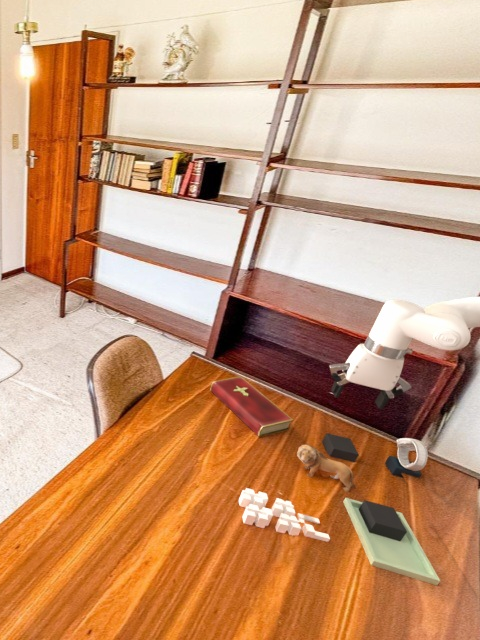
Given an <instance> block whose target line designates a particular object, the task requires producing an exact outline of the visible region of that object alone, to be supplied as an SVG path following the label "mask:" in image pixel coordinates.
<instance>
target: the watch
mask: <svg viewBox="0 0 480 640" xmlns="http://www.w3.org/2000/svg"><path fill="white" fill-rule="evenodd" d="M396 443H397V444H396V448H397V456H393V455H388V458H387V459H386V461H385V462H384V465H385V467H386V469H387V470H388V471H389V472H390V475H392V476H395V477H398V478H402V479H405V477H404V475H408V476H410V477H411V476H412V477H414V478H418V479H421V477H422V476H423V474H422V473H421V470H423V469H424V468H425V466H426V465H427V463H428V459H429V457H428V455H429V453H428V448H427V447H426V445H425V443H424V442H422V441H421V440H419V439H416V438H411V437H402V438H398V439H396ZM410 451H411V452H413V451H415V452H416V458H415V460H414V461H411V460H410V459H409V454H410ZM402 474H404V475H402Z"/></svg>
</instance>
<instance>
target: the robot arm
mask: <svg viewBox="0 0 480 640" xmlns="http://www.w3.org/2000/svg"><path fill="white" fill-rule="evenodd" d="M472 328H480V296H471V297H463V298H456V299H451V300H444V301H438V302H435V303H432V304H430V305H427V306H426V307H424V308H423V307H422V306H420V305H418V304H415V303H414V302H412V301H407V300H403V299H395V298H394V299H389V300H387V301H386V302H384V304H383V306H382V307H381V309H380V312H379V313H378V316H377V317H376V319H375V320H374V323H373V325H372V326H371V329H370V332H369V333H368V335H367V337H366V339H365V341H364V343H359V344H358V345H357V346H356V347H355V348H354V349H353V350H352V352H351V353H350V355H349V356H348V358H347V359H346V361H345V362H344V363H334V364H329V365H328V368H329V373H330V375H331V378H332V379H333V380H334V382H333V384H332V386H331V389H330V390H331V393H332V394H333V396H334V398H337V399H338V398H340V396H341V395H342V392H343V390H344V389H345V387H344V385H346V384H348V383H353V384H355V385H356V384H357V385H359V386H365V387H369V388H372V389H377V390H380V391H379V393H378V395H377V396H376V398H375V400H374V403H375V405H376V406H377V409H378V410H383V409H384V407H386V406H388V404H389V402H390V400H391V399H394V398H395V397H397V396H400V395H403V394H404V393H405V392H407V391H409V390H411V389H412V385H411V384H410V383H409V382H408V381H406V380H405V379H404V378H402V377H401V374H402V371H403V368H404V364H405V363H404V362H405V355H407V354H408V355H412V354H413V348H409V347H410V344H411V343H412V341H413V340H416V341H418V342H421V343H423V344H425V345H428V346H429V347H433V348H435V349H438V350H442V351H457V350H461V349H464V348H465V347H467V346H468V345H469V343H470V342H471V338H472V337H471V336H472V335H471V331H470V329H472ZM338 371H341V372H342V373H339V374H338ZM397 384H399V386H396V385H397Z"/></svg>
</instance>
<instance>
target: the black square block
mask: <svg viewBox="0 0 480 640" xmlns="http://www.w3.org/2000/svg"><path fill="white" fill-rule="evenodd" d="M362 502H363V503H362V505H361V506H360V508H359V512H360V514H361V516H362V518H363V520H364V522H365V524H366V527H367V529H368V531H369V533H373V534H376V535H380V536H383V537H387V538H390V539H394V540H397V541H401V540H402V538H403V537H404V536H405V534H406V533H407V531H406V529H405V527H404V525H403V523H402V522H401V520H400V518H399V516H398V514H397V513H396V512H397V511H396V509H395V508H394V507H392V506H388V505H384V504H381V503H377V502H373V501H370V500H366V499H364V500H363V501H362Z"/></svg>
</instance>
